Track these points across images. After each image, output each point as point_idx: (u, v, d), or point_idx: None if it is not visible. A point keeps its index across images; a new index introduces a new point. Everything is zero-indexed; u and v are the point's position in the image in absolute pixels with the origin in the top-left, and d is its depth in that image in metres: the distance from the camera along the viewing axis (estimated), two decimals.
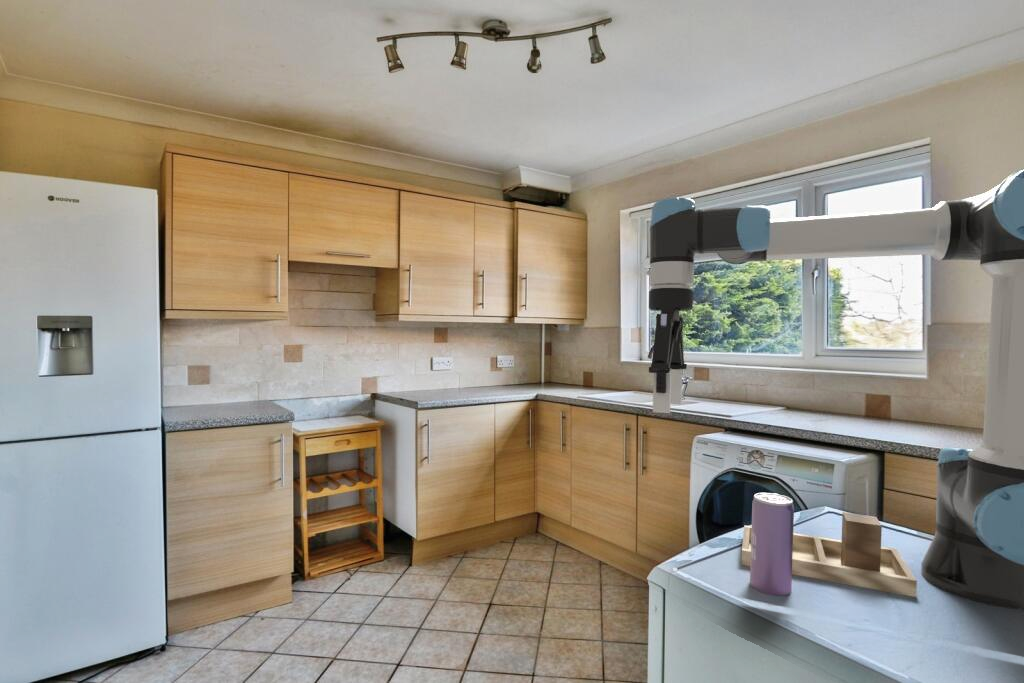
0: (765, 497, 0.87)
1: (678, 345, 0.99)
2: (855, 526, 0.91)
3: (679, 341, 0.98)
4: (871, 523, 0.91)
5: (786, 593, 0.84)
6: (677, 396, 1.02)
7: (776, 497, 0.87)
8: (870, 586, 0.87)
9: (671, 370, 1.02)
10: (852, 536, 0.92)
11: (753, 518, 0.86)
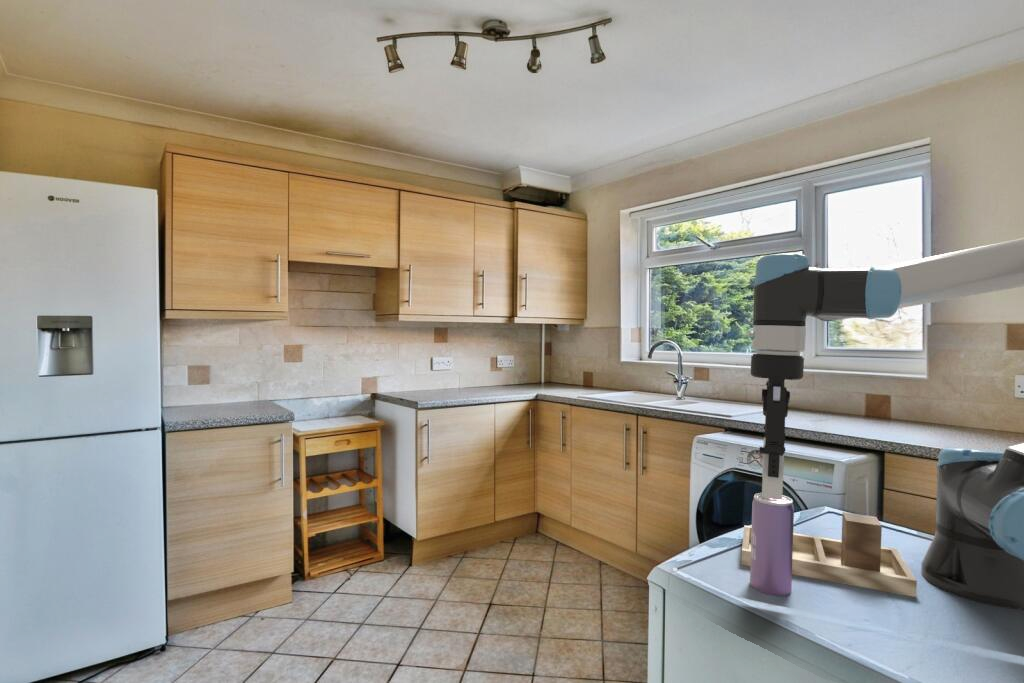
0: None
1: None
2: (855, 526, 0.91)
3: None
4: (871, 523, 0.91)
5: (786, 593, 0.84)
6: None
7: None
8: (870, 586, 0.87)
9: None
10: (852, 536, 0.92)
11: (753, 518, 0.86)
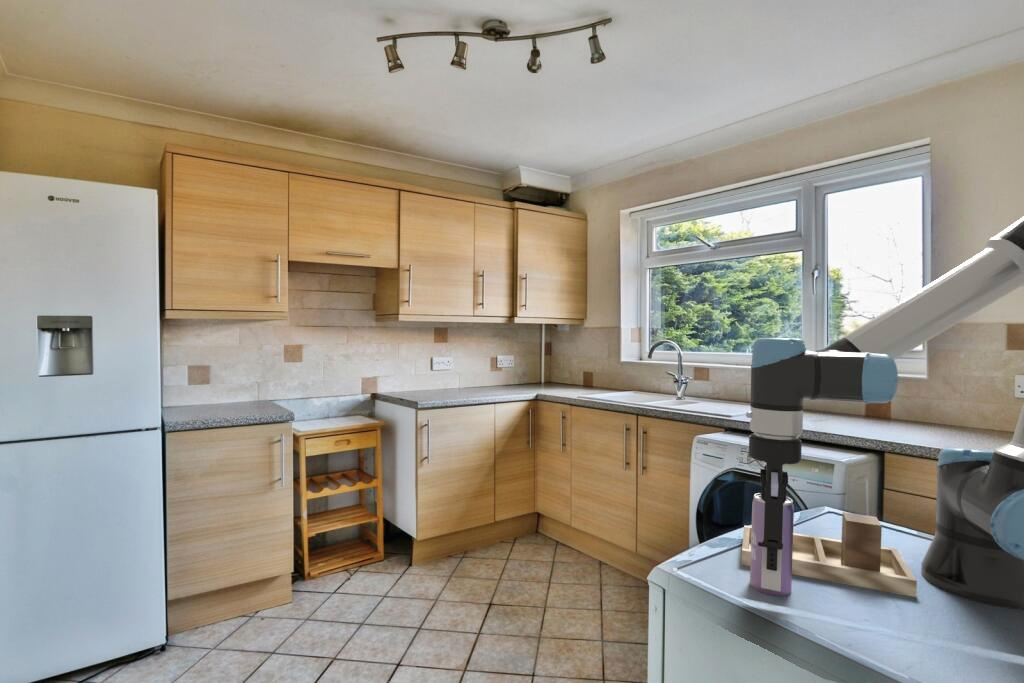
0: None
1: None
2: (855, 526, 0.91)
3: None
4: (871, 523, 0.91)
5: (786, 593, 0.84)
6: None
7: None
8: (870, 586, 0.87)
9: None
10: (852, 536, 0.92)
11: (753, 518, 0.86)
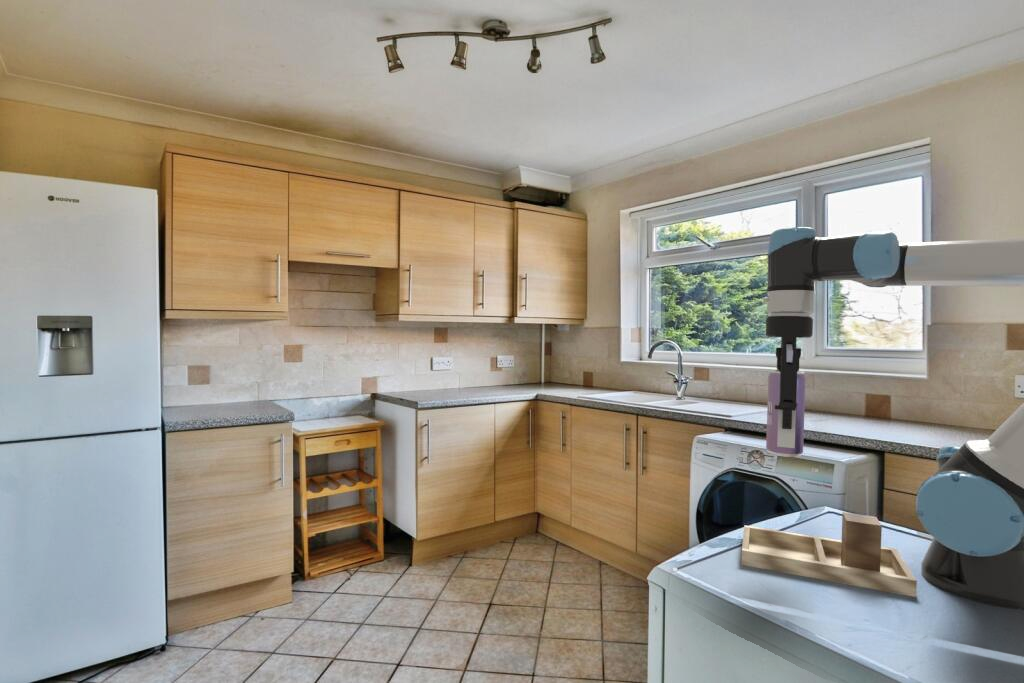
0: None
1: None
2: (855, 526, 0.91)
3: None
4: (871, 523, 0.91)
5: (798, 451, 0.95)
6: None
7: None
8: (870, 586, 0.87)
9: None
10: (852, 536, 0.92)
11: (769, 389, 0.98)
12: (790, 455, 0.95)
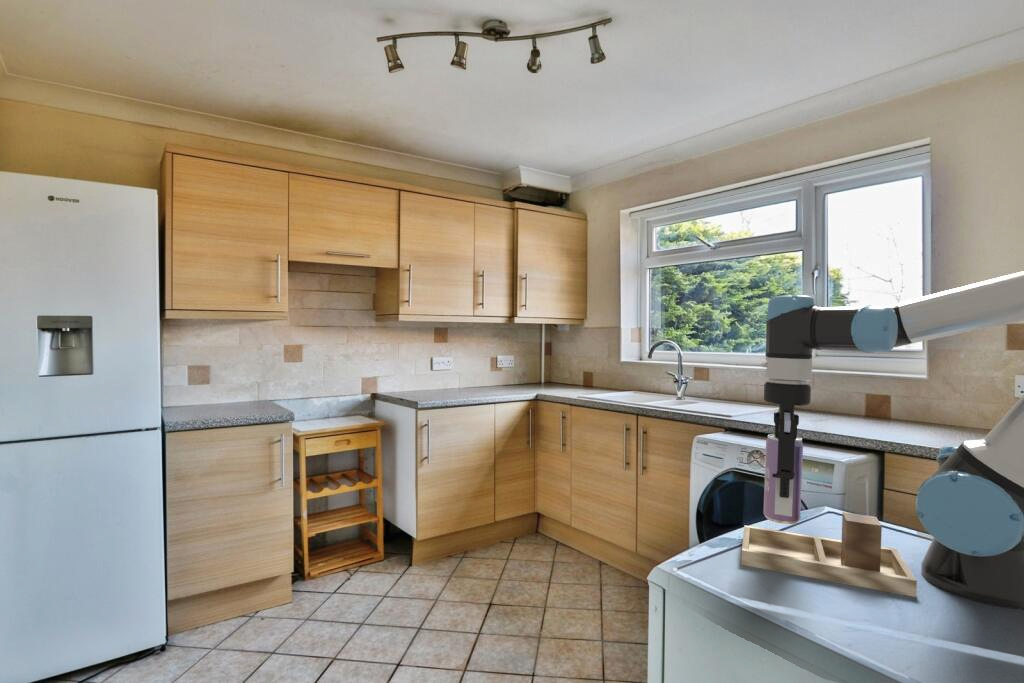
0: None
1: None
2: (855, 526, 0.91)
3: None
4: (871, 523, 0.91)
5: (796, 519, 0.96)
6: None
7: None
8: (870, 586, 0.87)
9: None
10: (852, 536, 0.92)
11: (767, 455, 0.98)
12: (787, 522, 0.96)
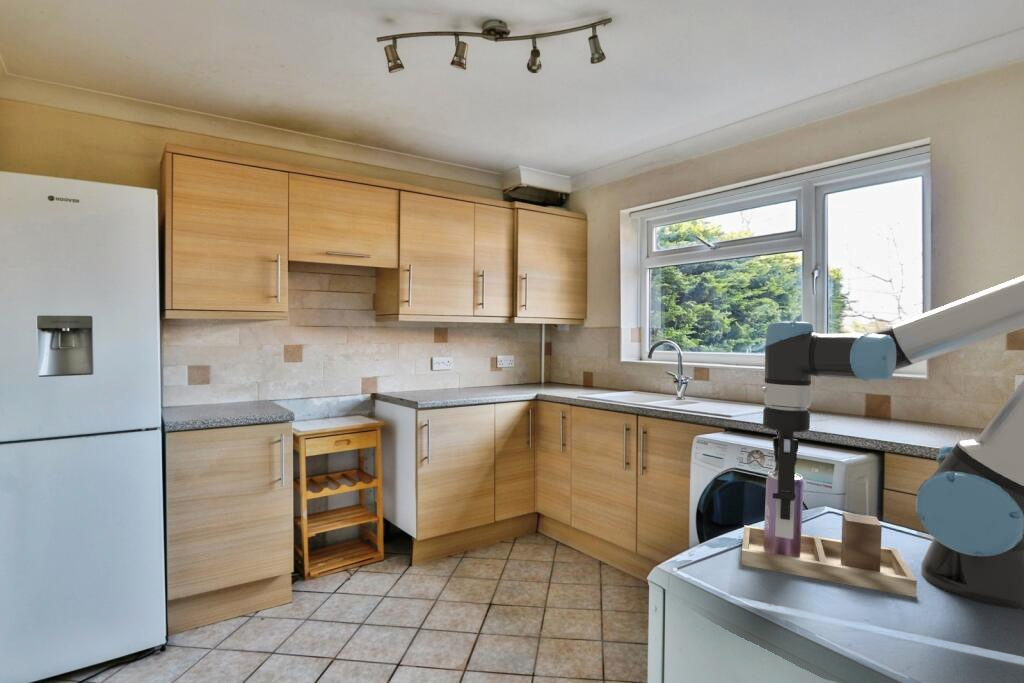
0: None
1: None
2: (855, 526, 0.91)
3: None
4: (871, 523, 0.91)
5: None
6: None
7: None
8: (870, 586, 0.87)
9: None
10: (852, 536, 0.92)
11: (767, 492, 0.98)
12: None
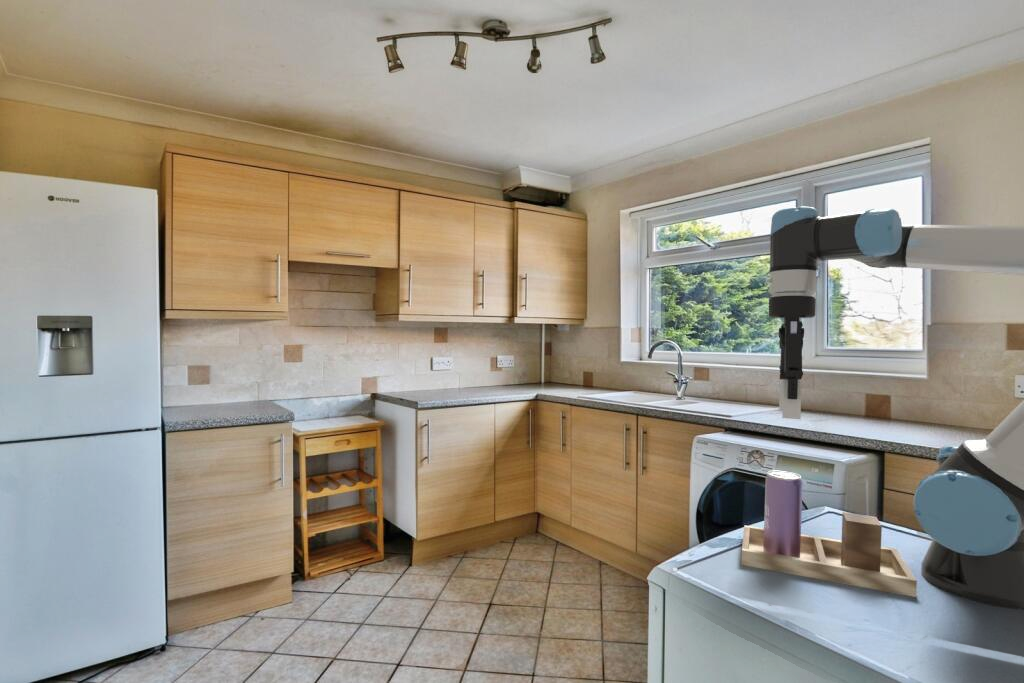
0: (777, 474, 0.99)
1: None
2: (855, 526, 0.91)
3: None
4: (871, 523, 0.91)
5: None
6: None
7: (787, 474, 0.99)
8: (870, 586, 0.87)
9: None
10: (852, 536, 0.92)
11: (766, 492, 0.98)
12: None
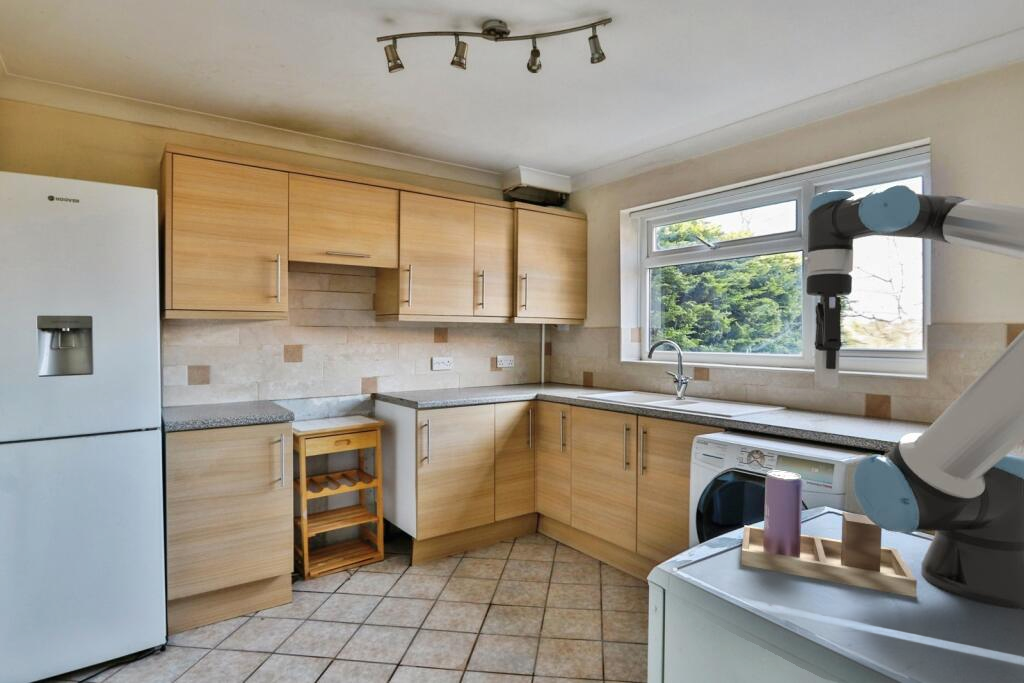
0: (777, 474, 0.99)
1: None
2: (855, 526, 0.91)
3: None
4: (871, 523, 0.91)
5: None
6: None
7: (786, 474, 0.99)
8: (870, 586, 0.87)
9: (820, 351, 1.11)
10: (852, 536, 0.92)
11: (766, 492, 0.98)
12: None
